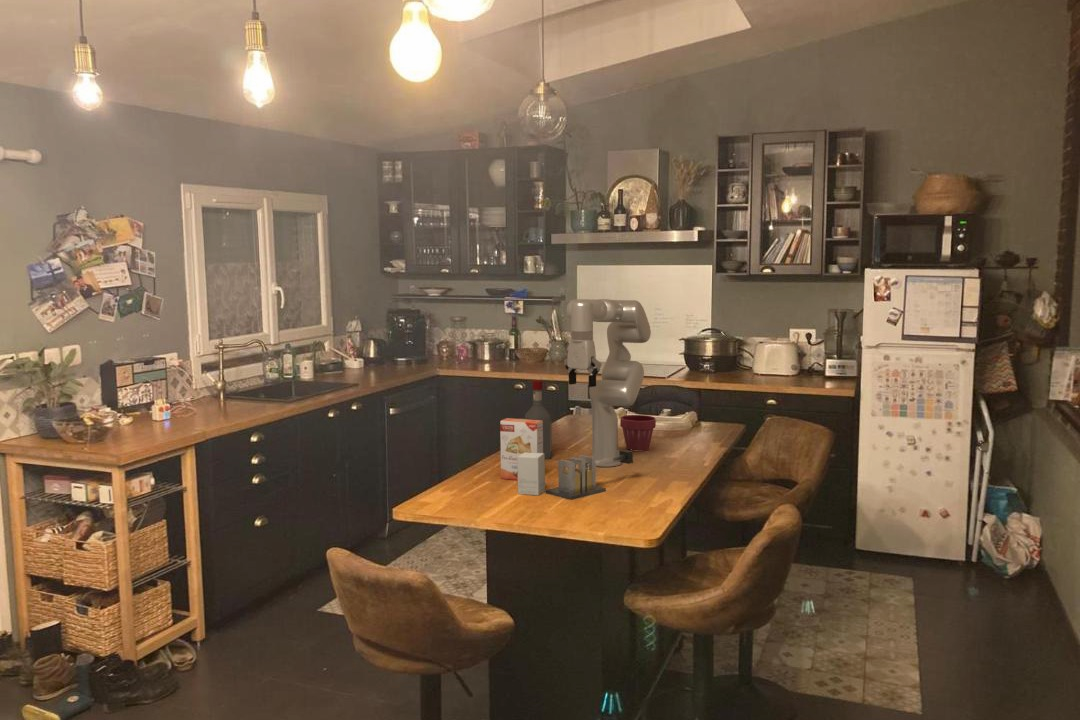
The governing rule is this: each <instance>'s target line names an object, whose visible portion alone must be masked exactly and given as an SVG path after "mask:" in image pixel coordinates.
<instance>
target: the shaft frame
mask: <svg viewBox="0 0 1080 720" xmlns="http://www.w3.org/2000/svg"><path fill="white" fill-rule="evenodd" d="M587 462H589V468H586V467H585V464H586V463H587ZM557 464H558V467H557V468H558V487H554V488H553V487H552V488H549V489H545V491H544V492H545V494H547V495H550V496H555V497H558V498H563V499H566V500H571V501H572V500H578V499H580V498H584V497H588V496H591V495H596V494H601V493H603V492H606V491H607V488H606V487H605V486H599V485H597V484H596V483H597V481H596V479H597V478H596V471H597V468H596V458H595V457H592V456H588V455H586V454H585V455H584V454H580V455H578V458H577V457H574V456H572V457H568V460H567V459H562V458H561V459H558V462H557ZM577 465H578V467H576V466H577ZM566 468H567V470H568V474H566V473H565V471H566ZM576 468H578V471H576ZM585 469H588V470H592V488H591V489H585ZM575 472H578V473H580V491H579V492H575Z"/></svg>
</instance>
